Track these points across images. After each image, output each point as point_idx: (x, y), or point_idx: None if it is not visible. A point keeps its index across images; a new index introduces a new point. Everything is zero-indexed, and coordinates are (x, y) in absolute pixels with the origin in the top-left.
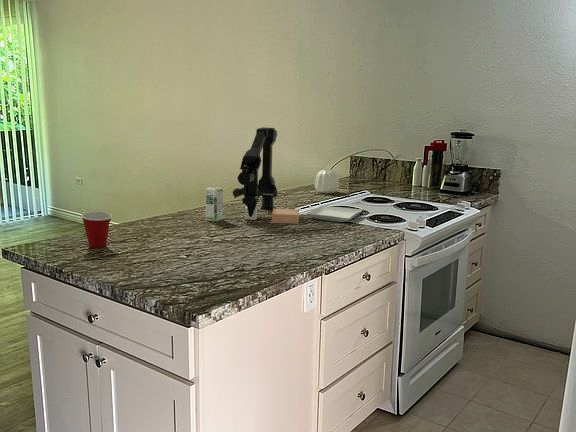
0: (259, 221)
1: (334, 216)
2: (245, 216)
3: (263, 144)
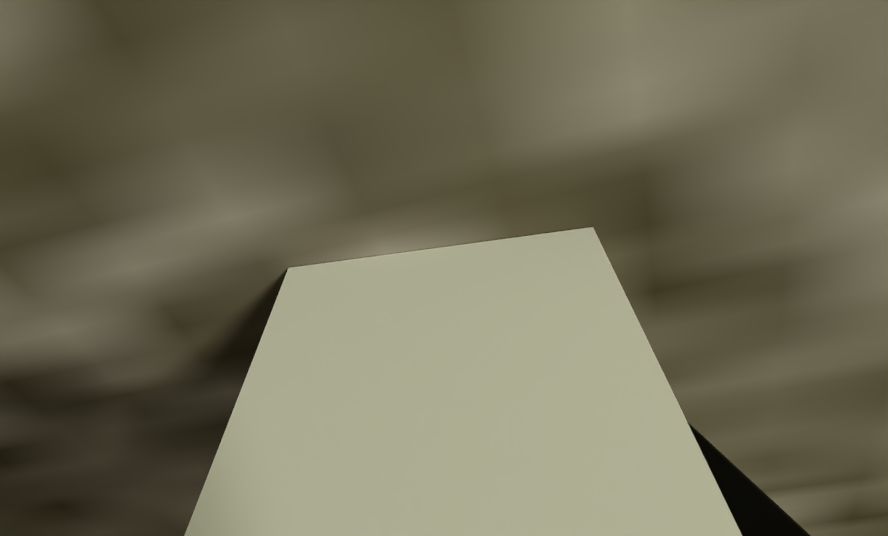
0: None
1: None
2: (272, 329)
3: None
